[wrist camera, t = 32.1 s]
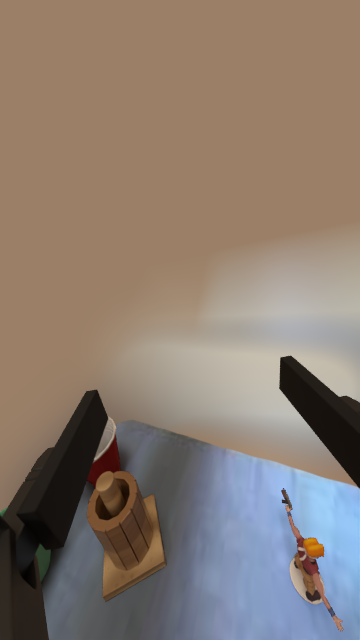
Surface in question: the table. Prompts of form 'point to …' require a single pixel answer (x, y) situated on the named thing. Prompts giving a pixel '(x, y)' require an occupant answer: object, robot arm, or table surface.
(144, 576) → the towel stand
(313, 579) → the action figure
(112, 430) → the plastic cup
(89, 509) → the wooden tube
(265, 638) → the table surface
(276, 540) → the table surface
